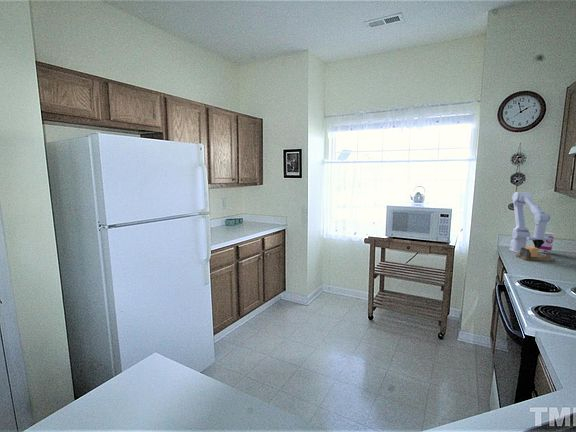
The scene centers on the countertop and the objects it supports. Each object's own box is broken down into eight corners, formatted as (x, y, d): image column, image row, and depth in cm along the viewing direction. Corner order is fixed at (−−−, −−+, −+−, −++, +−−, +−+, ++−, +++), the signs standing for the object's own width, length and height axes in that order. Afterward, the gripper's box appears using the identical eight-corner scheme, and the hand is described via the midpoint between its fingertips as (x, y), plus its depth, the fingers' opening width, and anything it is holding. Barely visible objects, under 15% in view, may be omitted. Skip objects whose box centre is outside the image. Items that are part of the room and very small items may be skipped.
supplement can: (553, 254, 224) (557, 234, 221) (542, 254, 224) (545, 233, 221) (544, 251, 232) (548, 231, 229) (533, 250, 232) (536, 231, 229)
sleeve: (524, 254, 214) (526, 246, 213) (531, 254, 214) (532, 246, 213) (530, 256, 209) (531, 248, 208) (537, 257, 209) (538, 248, 208)
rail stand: (515, 256, 217) (517, 246, 216) (543, 257, 216) (545, 247, 215) (526, 260, 207) (527, 250, 206) (555, 261, 206) (557, 251, 205)
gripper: (533, 232, 205) (530, 251, 207) (555, 232, 204) (552, 252, 206) (525, 229, 212) (522, 248, 214) (547, 230, 211) (544, 249, 213)
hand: (536, 250), depth 211 cm, fingers closed
